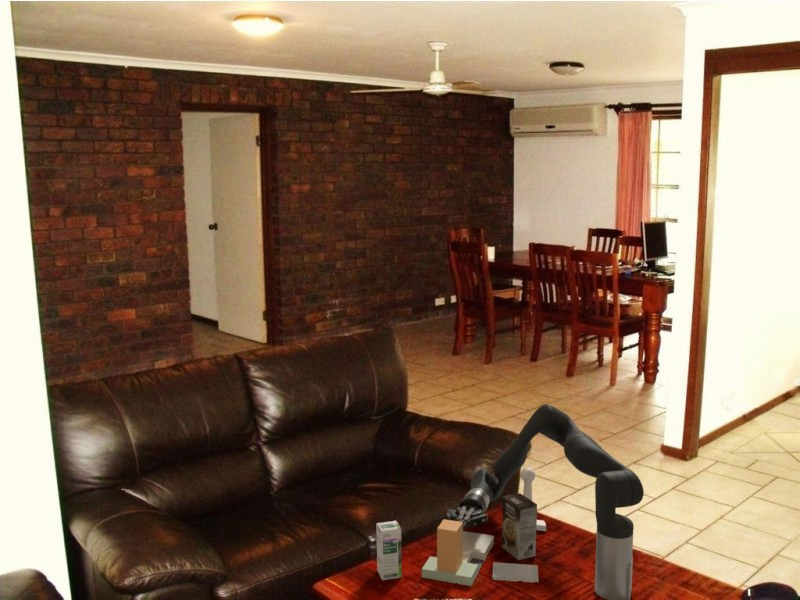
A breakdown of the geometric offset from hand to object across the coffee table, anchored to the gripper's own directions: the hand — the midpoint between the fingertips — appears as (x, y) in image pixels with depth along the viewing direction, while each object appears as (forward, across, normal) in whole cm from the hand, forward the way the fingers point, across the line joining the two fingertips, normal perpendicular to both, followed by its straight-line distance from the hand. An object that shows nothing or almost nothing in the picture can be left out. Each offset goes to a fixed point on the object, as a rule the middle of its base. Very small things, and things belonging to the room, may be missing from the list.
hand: (459, 528), depth 222 cm
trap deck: (0, 0, +10) cm, 10 cm away
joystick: (-24, +15, +10) cm, 30 cm away
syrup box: (+14, -16, +10) cm, 24 cm away
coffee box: (-10, +15, +10) cm, 21 cm away
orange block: (+9, 0, +7) cm, 11 cm away
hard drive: (+2, +17, +10) cm, 20 cm away
